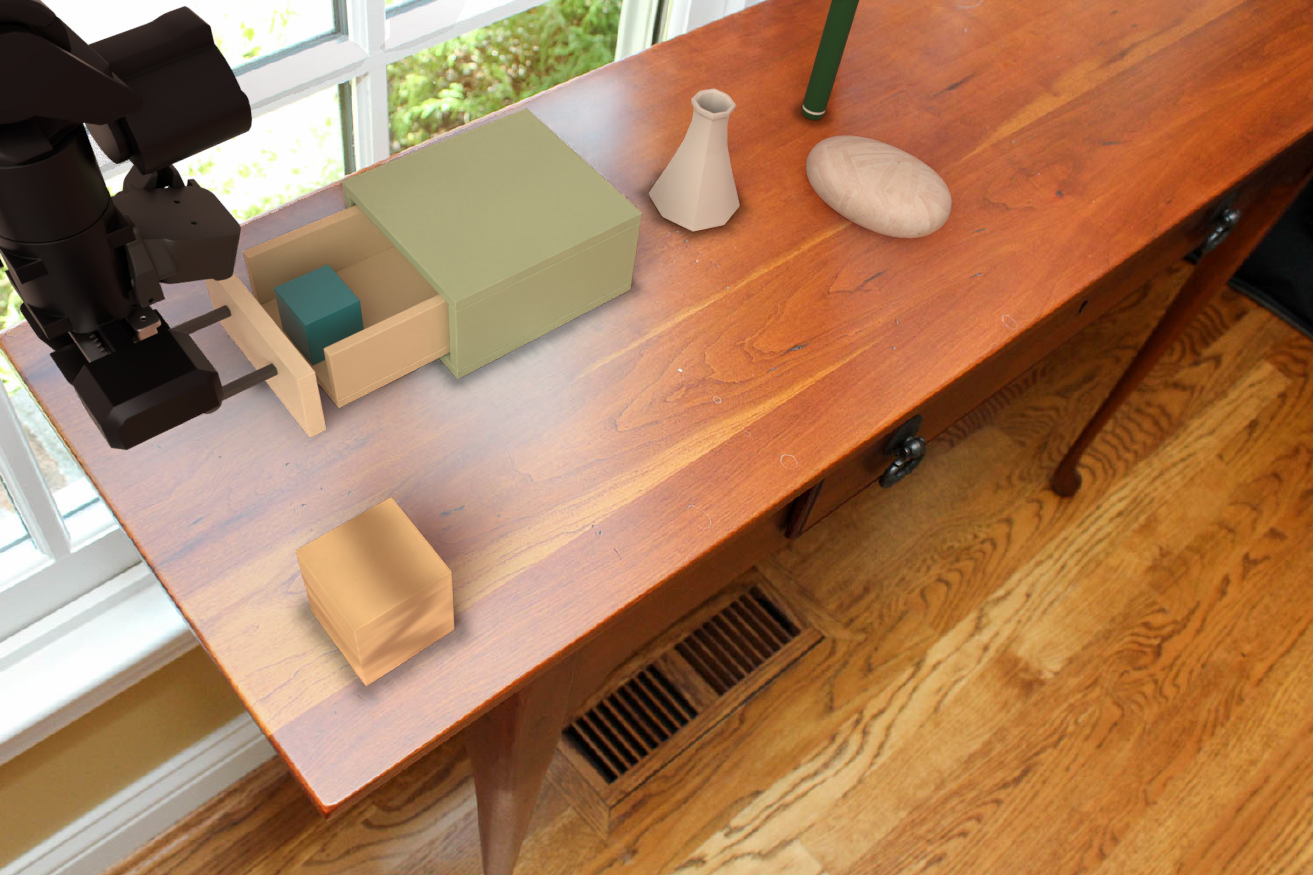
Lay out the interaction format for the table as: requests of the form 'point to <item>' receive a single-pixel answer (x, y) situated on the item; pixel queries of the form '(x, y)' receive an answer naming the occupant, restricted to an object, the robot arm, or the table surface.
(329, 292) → the block
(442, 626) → the riser
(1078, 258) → the table surface
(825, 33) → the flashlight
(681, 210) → the flask
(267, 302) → the drawer
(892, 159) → the decorative stone
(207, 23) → the robot arm
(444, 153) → the cabinet
